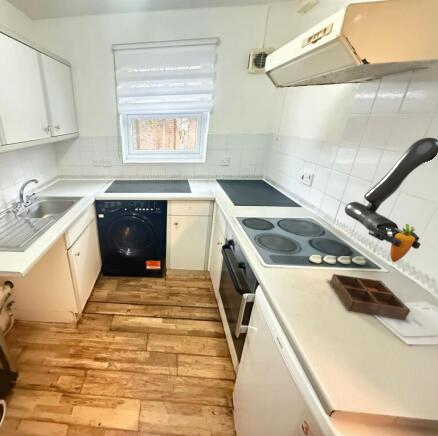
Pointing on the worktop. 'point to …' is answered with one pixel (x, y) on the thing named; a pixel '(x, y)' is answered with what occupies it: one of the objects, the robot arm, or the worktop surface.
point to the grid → (369, 297)
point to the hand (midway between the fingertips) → (408, 245)
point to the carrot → (402, 244)
